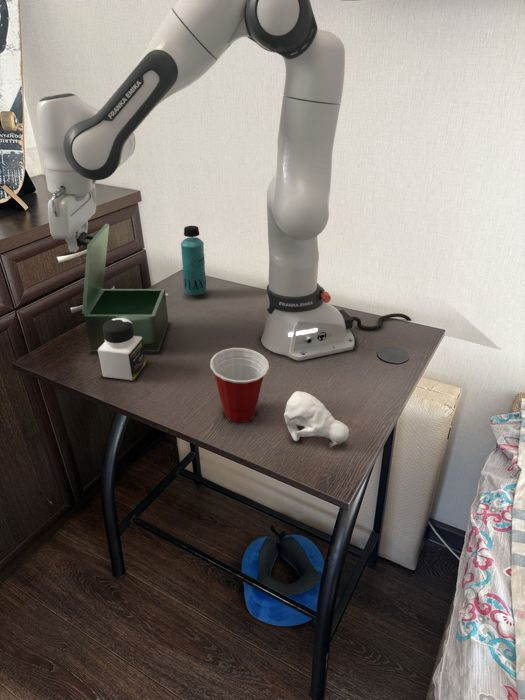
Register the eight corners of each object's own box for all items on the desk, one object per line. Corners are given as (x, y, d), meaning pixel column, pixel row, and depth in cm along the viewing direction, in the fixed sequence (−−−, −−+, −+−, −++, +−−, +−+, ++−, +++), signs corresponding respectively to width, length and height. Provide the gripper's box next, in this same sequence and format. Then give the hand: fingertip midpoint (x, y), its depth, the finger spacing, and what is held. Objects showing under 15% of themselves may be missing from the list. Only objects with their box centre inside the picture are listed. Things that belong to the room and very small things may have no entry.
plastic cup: (250, 439, 91) (250, 385, 85) (201, 420, 96) (198, 368, 89) (278, 407, 99) (279, 356, 93) (232, 391, 104) (230, 341, 97)
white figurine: (296, 381, 92) (359, 403, 88) (290, 416, 96) (350, 438, 93) (282, 399, 87) (348, 424, 83) (277, 435, 91) (339, 460, 88)
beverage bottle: (181, 299, 141) (175, 230, 131) (188, 289, 147) (182, 222, 137) (203, 301, 140) (199, 231, 130) (209, 291, 146) (206, 224, 136)
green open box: (168, 323, 129) (164, 288, 124) (158, 353, 116) (154, 316, 111) (108, 323, 129) (101, 288, 124) (91, 353, 116) (84, 315, 111)
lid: (109, 224, 115) (87, 218, 115) (91, 245, 103) (66, 239, 102) (103, 287, 123) (82, 282, 123) (85, 314, 111) (62, 309, 110)
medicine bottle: (133, 381, 107) (125, 332, 100) (102, 377, 108) (92, 328, 102) (146, 363, 113) (139, 316, 106) (117, 360, 114) (108, 313, 108)
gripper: (68, 194, 94) (78, 263, 102) (98, 171, 112) (105, 231, 119) (34, 193, 94) (47, 262, 101) (69, 170, 112) (78, 230, 119)
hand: (78, 245), depth 110 cm, fingers closed on lid, 5 cm apart
